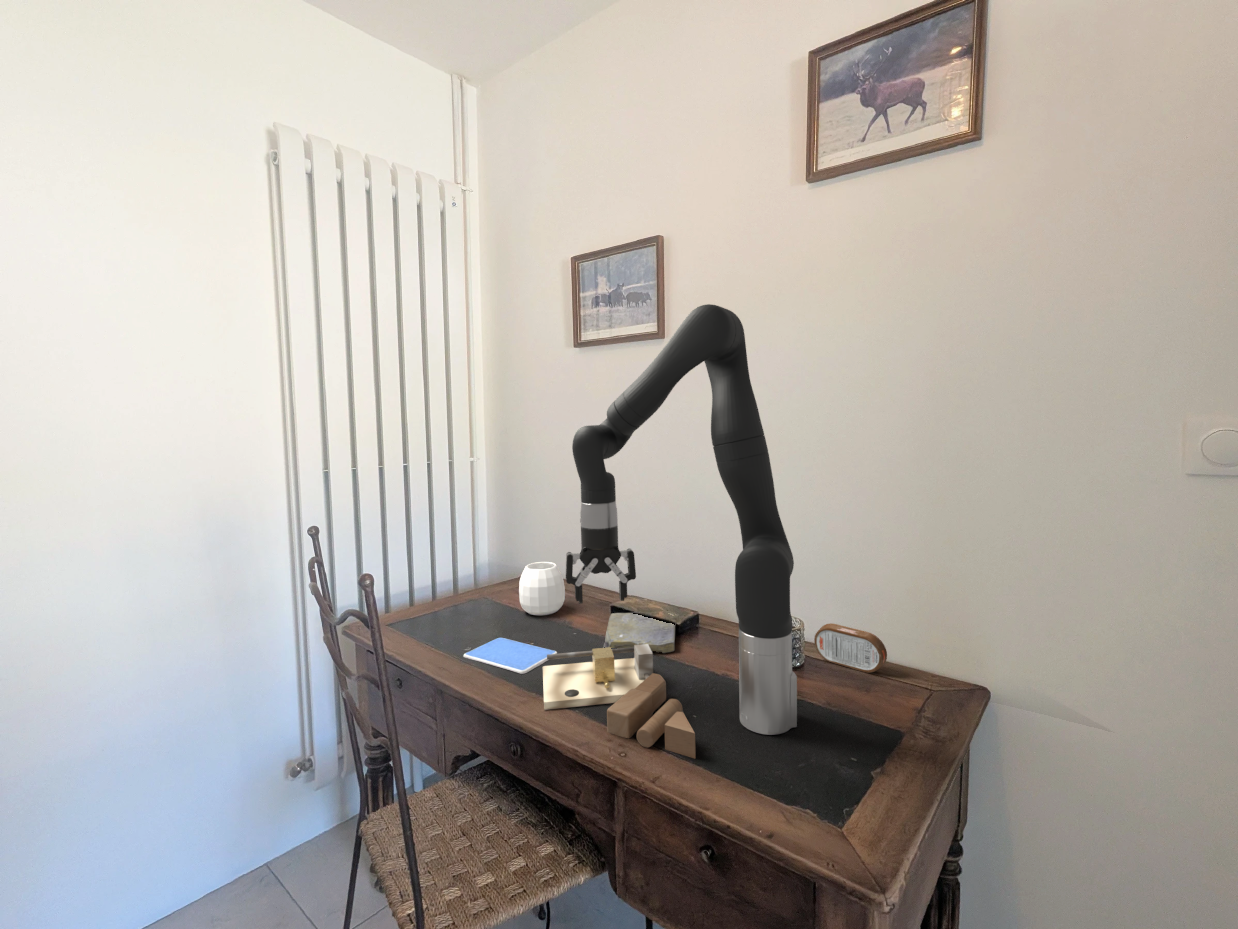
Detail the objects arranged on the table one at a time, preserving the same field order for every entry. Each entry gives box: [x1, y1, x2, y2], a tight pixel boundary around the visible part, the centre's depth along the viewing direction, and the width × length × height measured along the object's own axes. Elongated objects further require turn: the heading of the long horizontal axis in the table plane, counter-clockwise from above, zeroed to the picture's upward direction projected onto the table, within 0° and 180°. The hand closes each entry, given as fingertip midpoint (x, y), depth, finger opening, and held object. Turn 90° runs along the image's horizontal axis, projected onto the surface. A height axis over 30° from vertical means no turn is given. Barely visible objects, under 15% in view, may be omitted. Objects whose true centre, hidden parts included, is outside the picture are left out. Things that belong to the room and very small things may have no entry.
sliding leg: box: [591, 647, 615, 688], centre depth 117 cm, size 4×8×5 cm, turn 8°
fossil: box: [603, 612, 676, 654], centre depth 143 cm, size 20×5×17 cm
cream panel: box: [542, 644, 654, 711], centre depth 118 cm, size 23×16×7 cm
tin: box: [814, 623, 888, 674], centre depth 124 cm, size 15×3×8 cm, turn 47°
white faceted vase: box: [518, 561, 566, 616], centre depth 164 cm, size 13×13×14 cm
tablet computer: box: [463, 637, 558, 675], centre depth 135 cm, size 19×13×1 cm, turn 57°
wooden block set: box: [606, 672, 696, 760], centre depth 103 cm, size 17×6×18 cm
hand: (601, 601), depth 117 cm, fingers open, 8 cm apart
